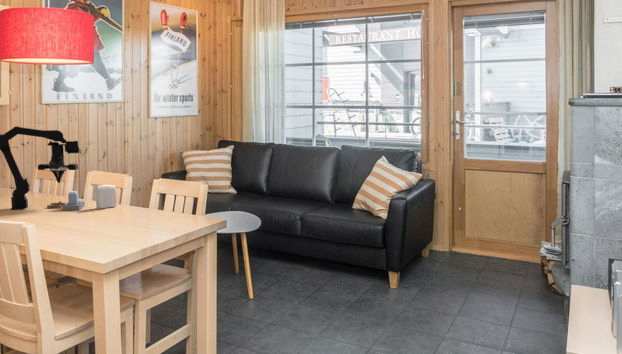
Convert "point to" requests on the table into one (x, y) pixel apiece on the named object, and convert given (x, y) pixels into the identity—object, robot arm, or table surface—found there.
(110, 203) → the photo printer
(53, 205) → the holster
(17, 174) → the robot arm
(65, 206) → the port
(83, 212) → the table surface
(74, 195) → the plug
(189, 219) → the table surface
